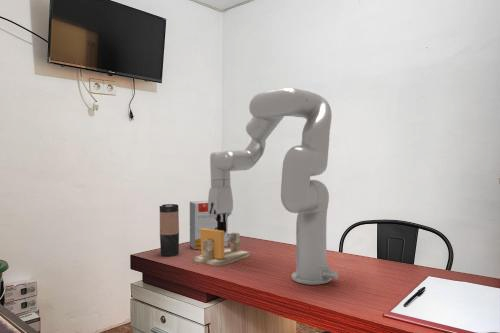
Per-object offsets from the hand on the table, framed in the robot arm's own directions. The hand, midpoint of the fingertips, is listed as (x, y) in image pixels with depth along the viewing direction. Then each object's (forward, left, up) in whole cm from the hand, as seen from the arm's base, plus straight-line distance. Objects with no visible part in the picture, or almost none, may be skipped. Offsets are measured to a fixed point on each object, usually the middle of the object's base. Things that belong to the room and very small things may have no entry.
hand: (221, 231), depth 149 cm
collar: (0, +5, -9) cm, 10 cm away
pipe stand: (0, -1, -11) cm, 11 cm away
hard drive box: (+18, -13, -11) cm, 25 cm away
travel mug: (+22, +6, -11) cm, 26 cm away
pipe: (0, -1, -5) cm, 5 cm away
